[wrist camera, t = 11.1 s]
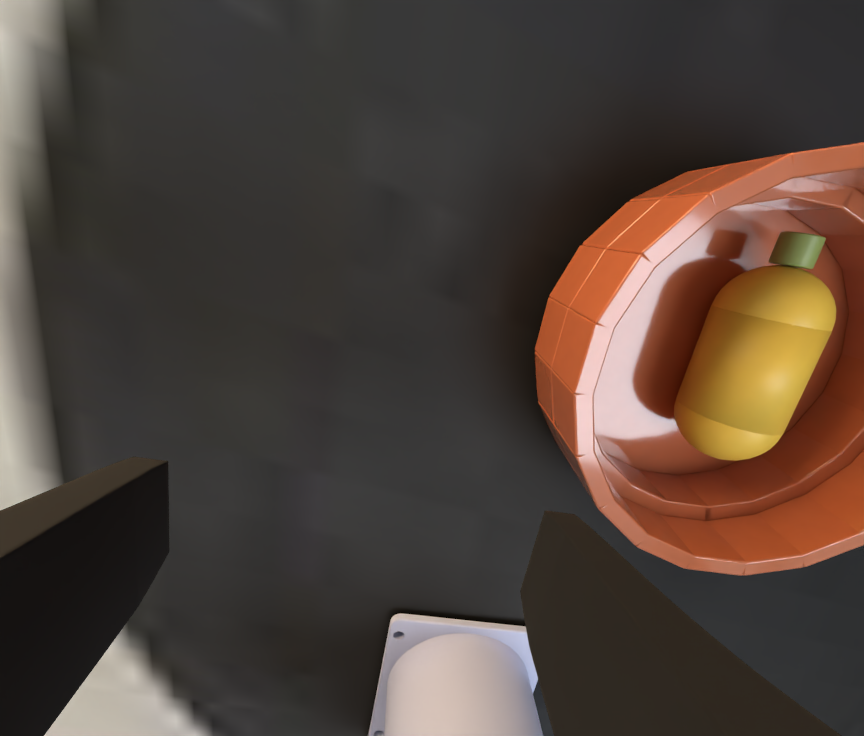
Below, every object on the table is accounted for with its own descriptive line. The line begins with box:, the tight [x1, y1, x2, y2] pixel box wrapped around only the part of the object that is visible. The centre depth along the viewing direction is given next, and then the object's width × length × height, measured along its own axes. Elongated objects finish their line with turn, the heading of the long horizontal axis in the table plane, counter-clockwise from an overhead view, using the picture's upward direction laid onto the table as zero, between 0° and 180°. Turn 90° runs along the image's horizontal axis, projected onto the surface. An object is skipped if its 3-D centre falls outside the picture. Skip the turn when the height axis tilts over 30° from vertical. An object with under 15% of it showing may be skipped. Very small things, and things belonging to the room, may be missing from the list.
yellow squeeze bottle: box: [674, 231, 836, 461], centre depth 15 cm, size 8×3×3 cm, turn 170°
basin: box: [535, 142, 864, 576], centre depth 15 cm, size 13×13×5 cm
